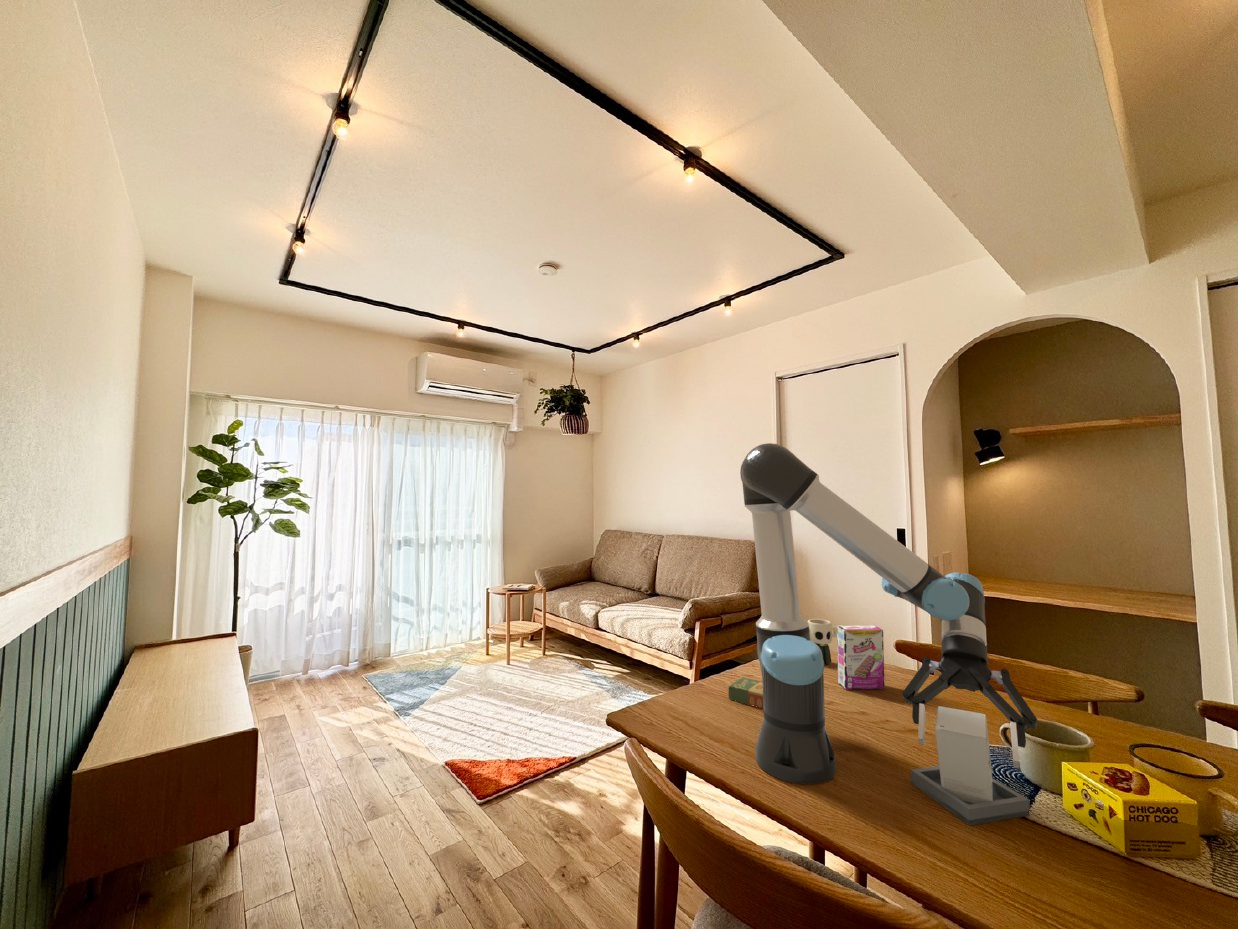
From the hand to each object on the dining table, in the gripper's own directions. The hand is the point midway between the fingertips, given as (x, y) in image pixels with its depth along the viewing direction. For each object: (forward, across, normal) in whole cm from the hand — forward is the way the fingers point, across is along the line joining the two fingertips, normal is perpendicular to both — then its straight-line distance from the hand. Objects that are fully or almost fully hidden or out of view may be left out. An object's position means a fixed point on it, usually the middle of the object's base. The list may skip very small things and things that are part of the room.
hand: (966, 753), depth 87 cm
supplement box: (+4, 0, -5) cm, 7 cm away
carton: (-8, +44, -20) cm, 49 cm away
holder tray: (+5, 0, -6) cm, 8 cm away
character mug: (-37, +40, -49) cm, 73 cm away
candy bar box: (-27, +25, -39) cm, 53 cm away
